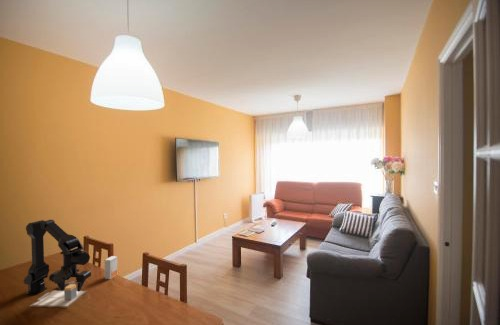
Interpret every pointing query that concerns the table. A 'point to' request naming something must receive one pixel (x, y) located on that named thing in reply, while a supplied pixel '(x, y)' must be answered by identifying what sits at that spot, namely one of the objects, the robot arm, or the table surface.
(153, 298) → the table surface
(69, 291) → the lidded cardboard box
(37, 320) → the table surface
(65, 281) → the plain pale rectangular box
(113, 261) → the skincare box
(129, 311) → the table surface
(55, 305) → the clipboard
